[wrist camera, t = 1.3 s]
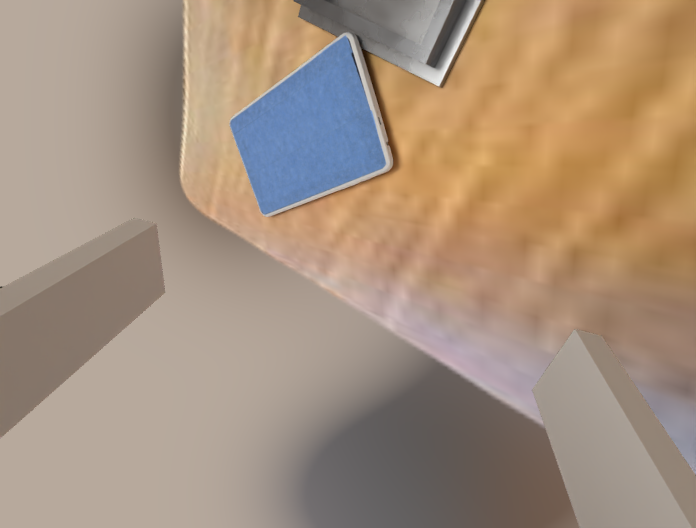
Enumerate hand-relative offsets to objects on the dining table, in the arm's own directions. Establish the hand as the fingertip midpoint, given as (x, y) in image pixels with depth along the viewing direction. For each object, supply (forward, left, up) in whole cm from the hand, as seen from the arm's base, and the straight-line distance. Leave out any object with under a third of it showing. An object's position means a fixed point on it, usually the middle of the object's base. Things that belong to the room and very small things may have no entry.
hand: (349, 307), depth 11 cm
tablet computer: (+4, -20, -23) cm, 31 cm away
